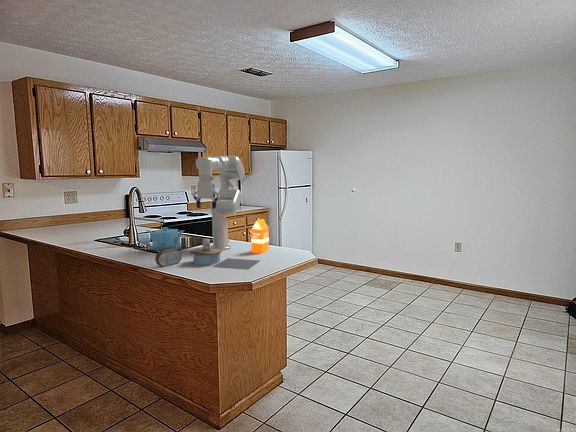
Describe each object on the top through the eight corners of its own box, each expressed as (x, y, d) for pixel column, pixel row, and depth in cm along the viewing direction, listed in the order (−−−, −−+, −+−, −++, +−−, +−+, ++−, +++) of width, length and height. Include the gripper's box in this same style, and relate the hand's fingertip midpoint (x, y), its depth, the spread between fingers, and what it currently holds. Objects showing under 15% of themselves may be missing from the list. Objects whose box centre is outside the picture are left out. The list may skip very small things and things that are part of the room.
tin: (179, 262, 216) (179, 247, 215) (182, 262, 214) (182, 247, 213) (155, 267, 204) (154, 251, 203) (158, 268, 202) (157, 252, 201)
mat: (227, 259, 221) (227, 258, 221) (260, 261, 216) (260, 260, 216) (211, 268, 202) (211, 266, 202) (247, 270, 197) (247, 269, 197)
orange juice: (251, 252, 240) (250, 220, 238) (258, 249, 248) (258, 218, 246) (262, 253, 237) (262, 220, 234) (269, 250, 245) (269, 219, 242)
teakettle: (172, 246, 258) (171, 224, 256) (187, 250, 245) (186, 227, 243) (145, 250, 245) (143, 227, 243) (158, 255, 232) (157, 230, 230)
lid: (199, 247, 224) (199, 236, 223) (227, 249, 219) (226, 237, 218) (184, 254, 207) (184, 241, 206) (213, 256, 203) (213, 243, 202)
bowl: (201, 258, 222) (201, 248, 222) (223, 260, 219) (223, 249, 218) (188, 264, 209) (188, 253, 208) (212, 266, 205) (212, 255, 205)
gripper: (222, 178, 226) (222, 208, 228) (195, 178, 230) (196, 207, 232) (216, 179, 219) (217, 209, 221) (188, 178, 223) (189, 208, 225)
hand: (206, 208), depth 227 cm, fingers open, 9 cm apart
